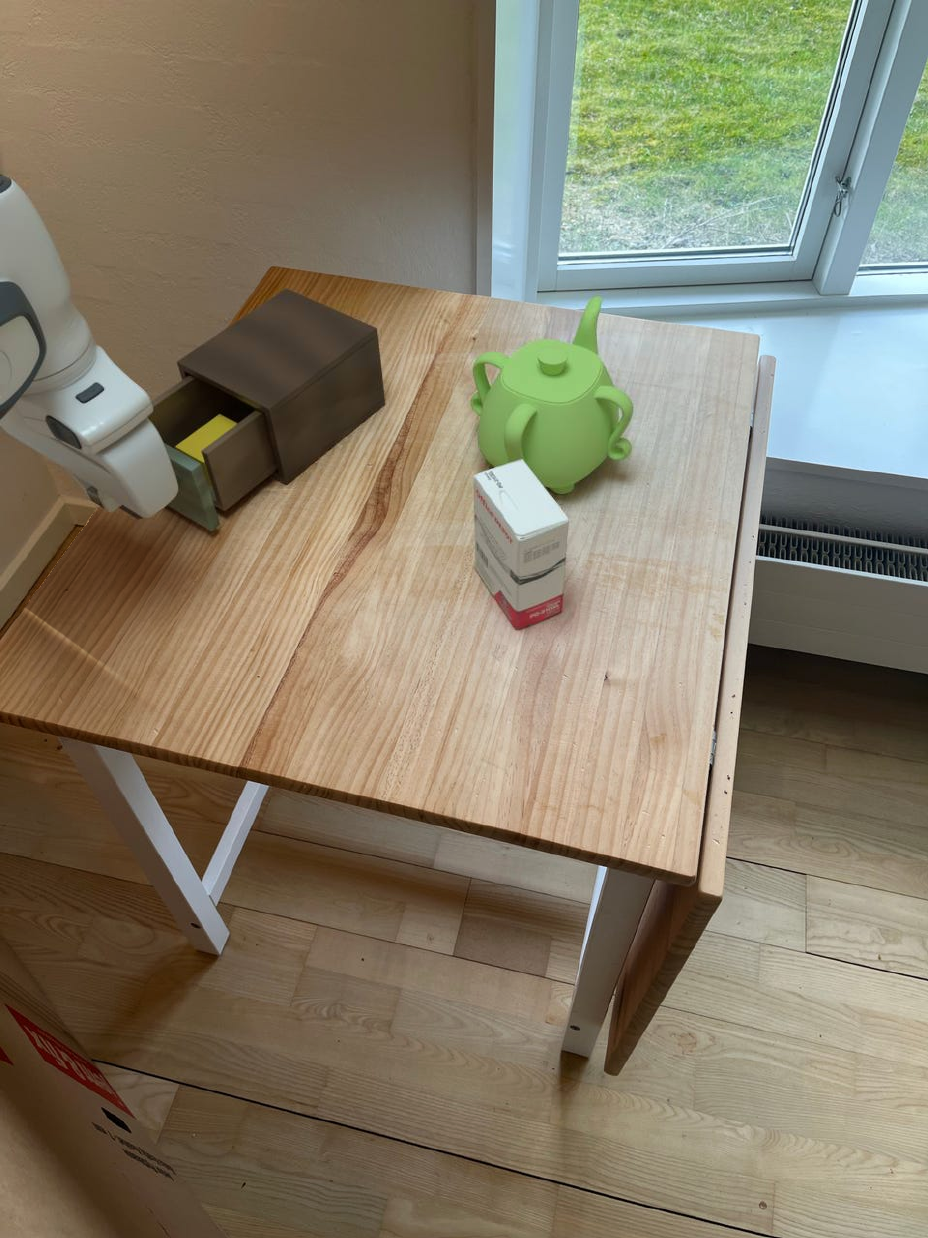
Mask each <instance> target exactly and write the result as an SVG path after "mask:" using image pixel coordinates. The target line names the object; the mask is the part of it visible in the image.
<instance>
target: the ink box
mask: <svg viewBox="0 0 928 1238" xmlns="http://www.w3.org/2000/svg"><path fill="white" fill-rule="evenodd" d="M473 514H474V516H473V517H474V518H473V520H474V522H473V523H474V525H473V526H474V570H475V571H476V572H477V574H478V575H479V577H480V579H481V580H482V581H483V583H484V584H485V586H486V588H487V589H488V590H489V592H490V594H491V596H492V597H493V598H494V600H495V602H496V603H497V604H498V606H499V607H500V608H501V610H502V612H503V613H504V615H505V616H506V617H507V619H508V621H509V622H510V624H511V625H512V627H513V629H515V630H522V629H524V628H527V627H529V626H532V625H536V624H537V623H540V622H542V621H544V620H547V619H549V618H552V617H554V616H556V615H559V614H560V613H562V612H563V601H564V590H565V575H566V562H567V547H568V537H569V536H568V535H569V524H570V519H569V517H568V516H567V514H566V513H565V512H564V511H563V509H562V508H561V506H560V505H559V503H557V501H556V500H555V499H554V498H553V496H552V495H551V493H549V491H548V490H547V488H546V487H544V486H543V485H542V484H541V482H540V481H539V480H538V479H537V477H536V476H535V475H534V473H533V472H532V471H531V470H530V468H529V467H528V466H527V465H526V463H525V462H524V461H523V460H522V459H520V460H517V461H514V462H511V463H507V464H505V465H501V466H499V467H495V468H494V467H493V468H490V469H487V470H483V471H481V472H478V473H475V474H474V475H473Z"/></svg>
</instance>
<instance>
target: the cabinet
mask: <svg viewBox="0 0 928 1238" xmlns="http://www.w3.org/2000/svg"><path fill="white" fill-rule="evenodd" d="M378 333H379V332H378V328H377V327H375V326H373V325H371V324H368V323H367V322H364V321H362V320H360V319H357V318H355V317H353V316H351V315H348V314H346V313H344V312H342V311H339V310H336V309H334V308H333V307H330V306H328V305H325V304H323V303H321V302H319V301H316V300H314V299H312V298H310V297H307V296H305V295H303V294H301V293H298V292H296V291H294V290H291V289H289V288H287V287H286V288H284V289H283V290H282V291H279V292H278V293H277V294H275V295H274V296H272V297H270V298H269V299H268V300H266V301H265V302H263V303H262V304H260V305H259V306H257V307H256V308H255V309H253V310H252V311H250V312H248V313H247V314H246V315H243V316H242V317H241V318H239V319H238V320H237V321H235V322H234V323H232V324H230V325H229V326H227V327H226V328H225V329H223V330H221V331H220V332H219V333H217V334H216V335H214V336H213V337H211V338H209V339H208V340H206V341H205V342H204V343H202V344H201V345H199V346H197V347H196V348H195V349H193V350H192V351H191V352H189V353H187V354H185V355H184V356H183V357H181V358H180V359H178V360H177V361H176V364H177V367H178V368H177V369H178V371H179V374H180V378H181V381H182V380H183V379H185V378H186V377H188V376H189V375H190V374H191V375H193V376H195V377H197V378H198V379H200V380H202V381H204V382H206V383H208V384H210V385H212V386H214V387H216V388H218V389H220V390H222V391H224V392H226V393H228V394H229V395H231V396H233V397H235V398H237V399H239V400H241V401H243V402H245V403H247V404H249V405H251V406H253V407H255V408H257V409H259V410H260V411H262V412H264V413H265V416H266V421H267V425H268V429H269V433H270V438H271V442H272V446H273V450H274V455H275V459H276V463H277V467H278V469H277V470H276V471H274V472H273V473H272V474H271V475H269V476H268V477H271V478H273V479H275V480H277V481H278V482H280V483H282V484H283V485H286V486H288V485H289V484H290V483H291V482H292V481H293V480H295V479H296V478H297V477H298V476H299V475H301V474H302V473H303V472H305V471H306V470H307V469H308V468H309V467H311V466H312V465H313V464H314V463H315V462H317V461H318V460H319V459H320V458H322V457H323V456H324V455H325V454H327V452H329V451H330V450H331V449H332V448H334V447H335V446H336V445H338V444H339V443H340V442H341V441H343V439H345V438H346V437H347V436H349V435H350V434H351V433H352V432H353V431H354V430H356V429H357V428H358V427H360V426H361V425H362V424H363V423H364V422H366V421H367V420H368V419H369V418H371V416H373V415H374V414H375V413H377V412H378V411H379V410H380V409H381V408H383V407H384V406H385V405H386V397H385V387H384V379H383V370H382V361H381V352H380V342H379V334H378Z"/></svg>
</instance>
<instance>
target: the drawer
mask: <svg viewBox="0 0 928 1238" xmlns="http://www.w3.org/2000/svg"><path fill="white" fill-rule="evenodd" d="M151 403H152V406H153V412H152V413H151V414H150V415H149V416H148V417H147V418H148V419H149V420H150V421H151V423H152V424H153V425H154V426H155V428H156V429H157V431H158V433H159V435H160V436H161V438H162V441H163V443H164V445H165V448H166V451H167V453H168V456H169V459H170V461H171V464H172V467H173V470H174V473H175V476H176V479H177V483H178V492H177V494H176V496H175V498H174V499H173V500H172V501H171V502H170V503H169V504H167V505H166V506H168V507H170V508H171V509H173V510H174V511H176V512H178V513H179V514H181V515H183V516H185V517H186V518H188V519H189V520H191V521H194V523H196V524H198V525H199V526H201V527H203V528H205V529H206V530H208V531H209V532H214V531H215V530H216V529H217V528H218V527H220V525H221V523H220V519H219V516H218V513H217V510H216V508H218V509H220V510H221V511H223V512H226V511H227V510H229V509H230V508H231V507H232V506H233V505H235V504H236V503H237V502H239V501H240V500H241V499H242V498H244V497H245V496H246V495H247V494H248V493H250V492H251V491H252V490H253V489H255V488H256V487H257V486H258V485H260V484H261V483H262V482H263V481H264V480H266V479H267V478H269V477H270V476H269V475H271V474H272V473H273V472H274V471H276V470H277V469H278V467H277V463H276V459H275V455H274V450H273V446H272V442H271V438H270V433H269V429H268V425H267V421H266V416H265V413H264V412H262V411H260V410H259V409H257V408H255V407H253V406H251V405H249V404H247V403H245V402H243V401H241V400H239V399H237V398H235V397H233V396H231V395H229V394H228V393H226V392H224V391H222V390H220V389H218V388H216V387H214V386H212V385H210V384H208V383H206V382H204V381H202V380H200V379H198V378H197V377H195V376H193V375H191V374H190V375H189V376H188V377H186V378H185V379H183V380H182V379H181V380H180V381H178V383H175V385H174V384H173V386H171V387H170V388H168V389H167V390H165V391H164V392H163V393H161V394H160V395H159V396H157V397H156V398H154V399H153V400H151ZM219 414H221V415H222V416H224V417H226V418H228V419H230V420H232V421H234V422H236V423H238V424H237V425H235V426H234V427H233V428H231V429H230V430H229V431H227V432H226V433H225V434H223V435H222V436H220V437H219V438H218V439H216V440H215V441H214V442H212V443H211V444H210V445H208V446H207V447H206V448H204V449H203V450H202V451H201V452H202V455H203V458H204V462H205V465H206V468H207V471H208V474H209V477H210V481H211V484H212V485H209V484H207V482H206V478H205V475H204V472H203V469H202V466H201V464H200V463H199V462H197V461H195V460H193V459H192V458H190V457H188V456H186V455H184V454H183V453H181V452H179V451H177V450H176V448H175V446H177V445H178V444H179V443H181V442H182V441H183V440H185V439H186V438H188V437H189V436H190V435H192V434H193V433H194V432H196V431H197V430H198V429H200V428H201V427H203V426H204V425H205V424H207V423H208V422H209V421H211V420H212V419H214V418H215V417H216V416H218V415H219ZM118 509H120V510H122V511H123V512H125V513H127V514H128V515H130V516H131V517H133V518H135V519H136V520H142V519H144V518H143V517H141V516H140V515H138V514H137V513H135V512H134V511H132V510H130V509H129V508H127V507H125V506H124V505H121V506H120V507H119V508H118Z"/></svg>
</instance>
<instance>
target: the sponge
mask: <svg viewBox="0 0 928 1238" xmlns="http://www.w3.org/2000/svg"><path fill="white" fill-rule="evenodd" d="M237 424H238V423H236V422H234V421H232V420H230V419H228V418H226V417H224V416H222V415H221V414H219V415H218V416H216V417H215V418H214V419H212V420H211V421H209V422H208V423H207V424H205V425H204V426H203V427H201V428H200V429H198V430H197V431H196V432H194V433H193V434H192V435H190V436H189V437H188V438H186V439H185V440H183V441H182V442H181V443H179V444H178V445H177V446H175V448H176V450H177V451H179V452H181V453H183V454H184V455H186V456H188V457H190V458H192V459H193V460H195V461H197V462H199V463H200V464H201V466H202V469H203V472H204V475H205V478H206V482H207V484H209V485H212V484H211V481H210V477H209V474H208V471H207V468H206V465H205V462H204V458H203V455H202V452H201V451H202V450H203V449H204V448H206V447H207V446H208V445H210V444H211V443H212V442H214V441H215V440H216V439H218V438H219V437H220V436H222V435H223V434H225V433H226V432H227V431H229V430H230V429H231V428H233V427H234V426H235V425H237Z"/></svg>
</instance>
